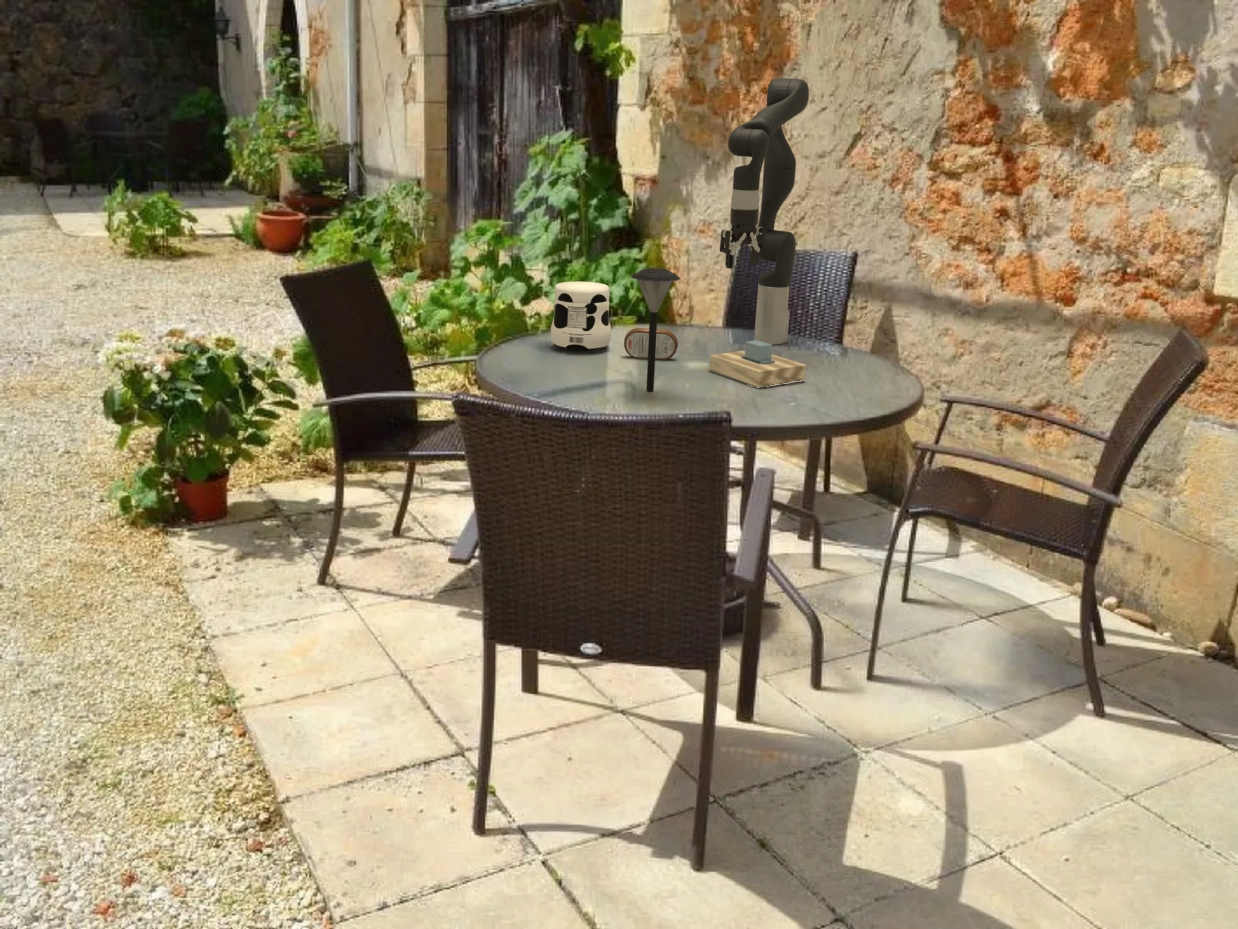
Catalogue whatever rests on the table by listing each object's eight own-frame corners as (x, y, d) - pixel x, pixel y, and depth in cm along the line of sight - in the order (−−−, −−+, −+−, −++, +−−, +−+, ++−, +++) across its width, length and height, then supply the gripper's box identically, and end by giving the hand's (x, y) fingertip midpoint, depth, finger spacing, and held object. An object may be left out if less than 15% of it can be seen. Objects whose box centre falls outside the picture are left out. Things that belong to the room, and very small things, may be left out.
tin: (677, 359, 302) (678, 329, 299) (676, 361, 299) (678, 331, 296) (623, 355, 303) (624, 326, 300) (622, 358, 300) (623, 328, 297)
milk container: (591, 339, 321) (593, 279, 315) (621, 352, 307) (624, 289, 301) (540, 344, 312) (540, 282, 306) (568, 357, 298) (569, 293, 292)
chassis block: (754, 365, 298) (755, 349, 296) (804, 381, 282) (806, 365, 281) (709, 371, 289) (710, 355, 288) (758, 388, 274) (759, 371, 272)
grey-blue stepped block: (751, 368, 290) (753, 339, 287) (773, 375, 283) (776, 346, 280) (739, 369, 288) (741, 340, 285) (762, 377, 281) (764, 347, 278)
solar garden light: (679, 397, 263) (686, 274, 254) (630, 397, 261) (635, 274, 252) (668, 384, 275) (675, 266, 265) (621, 384, 273) (626, 265, 263)
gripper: (755, 203, 295) (751, 262, 301) (715, 206, 288) (712, 267, 293) (774, 206, 290) (770, 266, 295) (733, 209, 282) (730, 271, 288)
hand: (741, 266), depth 294 cm, fingers open, 8 cm apart
